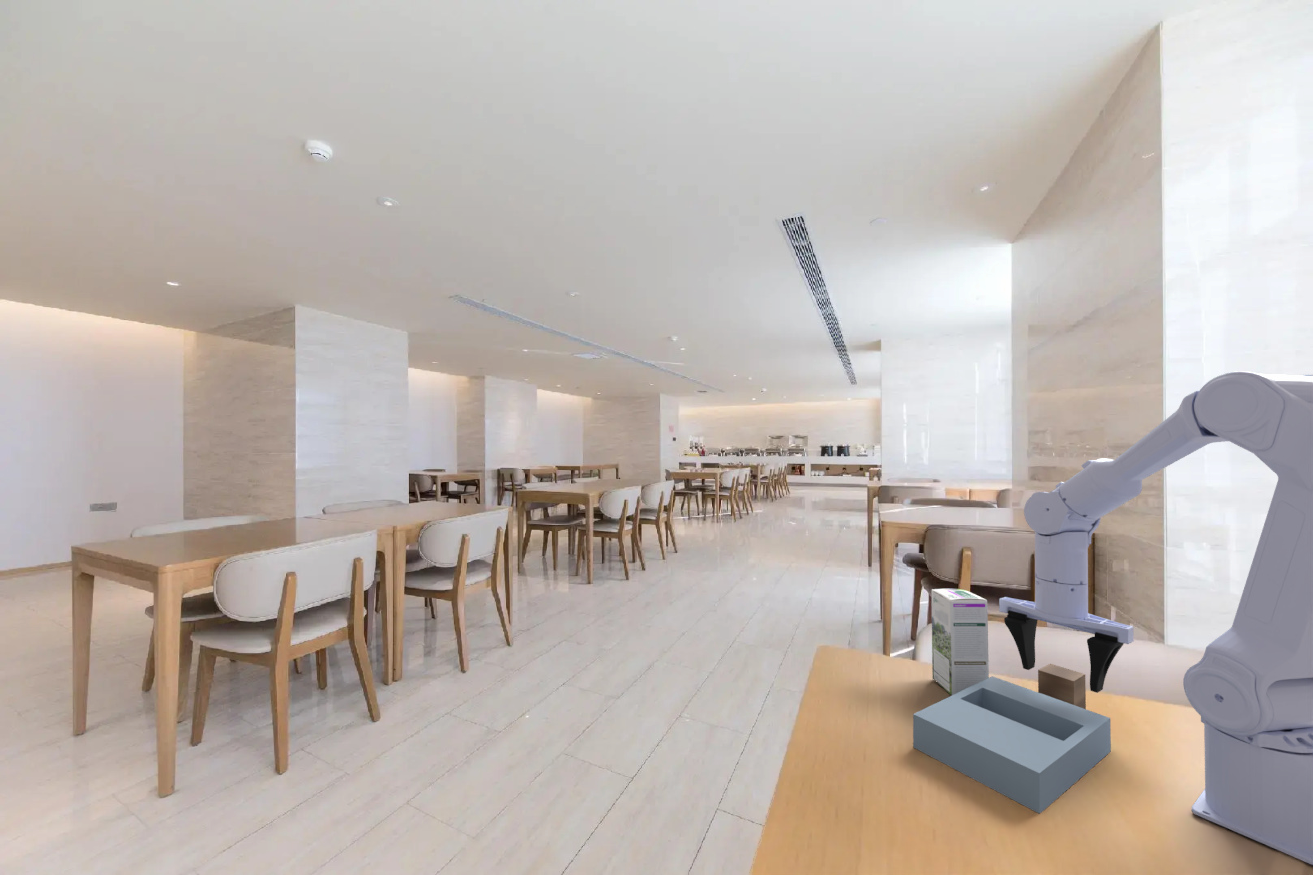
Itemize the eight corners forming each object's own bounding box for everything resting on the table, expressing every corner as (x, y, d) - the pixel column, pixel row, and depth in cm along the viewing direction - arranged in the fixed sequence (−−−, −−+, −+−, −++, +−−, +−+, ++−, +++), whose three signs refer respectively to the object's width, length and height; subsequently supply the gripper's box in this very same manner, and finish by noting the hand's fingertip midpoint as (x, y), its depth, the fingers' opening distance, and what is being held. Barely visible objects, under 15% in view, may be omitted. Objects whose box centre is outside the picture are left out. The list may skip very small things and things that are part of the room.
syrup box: (991, 698, 73) (990, 598, 73) (950, 697, 73) (950, 598, 74) (967, 680, 79) (967, 588, 79) (930, 679, 79) (929, 587, 79)
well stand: (1110, 751, 60) (1110, 717, 60) (1039, 813, 50) (1039, 773, 50) (992, 704, 71) (992, 676, 71) (913, 747, 61) (913, 713, 61)
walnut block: (1085, 718, 68) (1085, 674, 68) (1074, 727, 66) (1073, 681, 66) (1050, 705, 71) (1050, 663, 71) (1038, 713, 69) (1038, 669, 69)
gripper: (1141, 588, 65) (1141, 693, 65) (1014, 565, 77) (1014, 653, 77) (1122, 596, 61) (1123, 707, 61) (992, 570, 73) (992, 663, 73)
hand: (1061, 678), depth 69 cm, fingers open, 7 cm apart
